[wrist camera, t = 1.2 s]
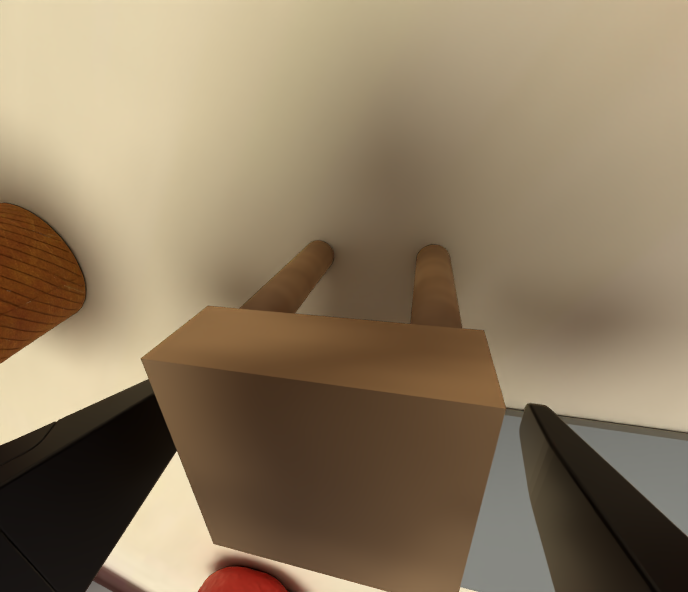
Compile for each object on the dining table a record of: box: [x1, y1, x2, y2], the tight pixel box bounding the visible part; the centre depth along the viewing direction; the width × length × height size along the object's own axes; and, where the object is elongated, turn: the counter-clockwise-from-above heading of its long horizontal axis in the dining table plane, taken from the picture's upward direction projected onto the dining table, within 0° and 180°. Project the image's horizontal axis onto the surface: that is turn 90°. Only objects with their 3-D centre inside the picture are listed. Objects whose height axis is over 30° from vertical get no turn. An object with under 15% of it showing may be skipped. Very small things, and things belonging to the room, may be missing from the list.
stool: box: [141, 240, 506, 592], centre depth 10 cm, size 6×6×8 cm
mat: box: [460, 409, 688, 592], centre depth 16 cm, size 15×15×1 cm
